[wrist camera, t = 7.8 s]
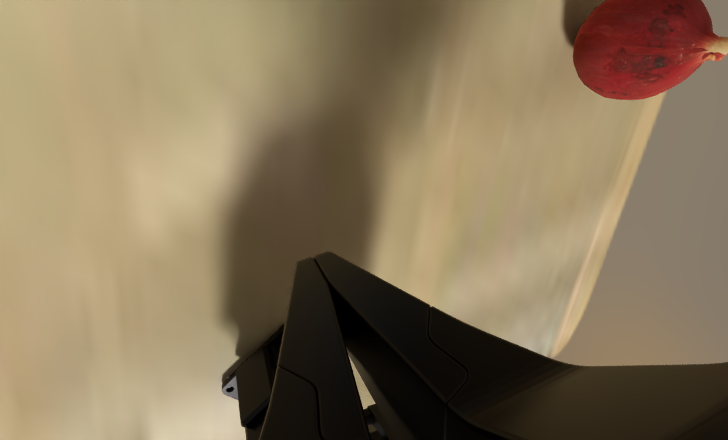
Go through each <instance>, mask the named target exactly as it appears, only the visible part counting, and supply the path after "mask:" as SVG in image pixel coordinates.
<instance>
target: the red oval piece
mask: <svg viewBox="0 0 728 440" xmlns="http://www.w3.org/2000/svg"><path fill="white" fill-rule="evenodd" d="M712 30H713V29H712V22H711V18H710V16H709V13H708V11H707V9H706V7H705V5H704V4H703V2H702V1H701V0H606V1H604V2H603V3H602V4H600V5H599V6H598V7H596V8H595V9H594V10H593V12H592V13H591V14H590V15H589V16H588V18H587V19H586V20H585V22H584V23H583V25H582V26H581V27H580V29H579V31H578V34H577V37H576V40H575V42H574V51H573V62H574V66H575V68H576V71H577V74H578V77H579V78H580V79H581V81H582V82H583V83H584V85H586V86H587V87H588V88H590V89H591V90H593V91H594V92H596V93H597V94H599V95H601V96H603V97H605V98H612V99H620V100H637V99H645V98H648V97H652V96H655V95H657V94H659V93H662V92H664V91H666V90H668V89H670V88H672V87H674V86H676V85H678V84H679V83H681V82H682V81H684V80H685V79H686V78H688V77H689V76H690V75H691V74H692V73H693V72H694V71H695V70H696V69H697V68H699V67H700V66H701V64H702V63H703V62H704V61H708V60H713V61H721V60H722V58H723V57H724V56H726V55H727V54H728V38H727V37H718V36H717V35H715V34H714V33H713V31H712Z"/></svg>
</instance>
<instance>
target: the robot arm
mask: <svg viewBox="0 0 728 440" xmlns="http://www.w3.org/2000/svg"><path fill="white" fill-rule="evenodd" d="M348 354H349V356H350V358H351V360H352V362H353V363H354V365H355V367H356V369H357V371H358V372H359V374H360V376H361V378H362V380H363V381H364V383H365V385H366V387H367V389H368V390H369V392H370V394H371V396H372V398H373V399H374V401H375V403H376V404H373V405H370V406H368V408H366V409H363V407H362V403H361V399H360V396H359V392H358V389H357V385H356V381H355V378H354V374H353V370H352V367H351V363H350V359H349V356H348ZM228 387H230V388H228ZM222 392H223V394H225V395H227V396H229V397H232V398H234V399H237V400H238V401H239V410H240V419H241V426H242V427H245V432H246V440H728V362H726V363H715V364H693V365H692V364H690V365H639V366H638V365H637V366H579V365H573V364H568V363H563V362H560V361H557V360H554V359H551V358H548V357H545V356H543V355H541V354H538V353H536V352H533V351H531V350H528V349H526V348H523V347H521V346H519V345H516V344H514V343H511V342H509V341H506V340H504V339H501V338H499V337H497V336H494V335H492V334H489V333H487V332H485V331H482V330H480V329H478V328H475V327H473V326H471V325H469V324H466V323H464V322H462V321H460V320H458V319H456V318H454V317H452V316H450V315H448V314H446V313H444V312H442V311H441V310H439V309H437V308H435V307H433V306H432V307H430V305H429V304H427V303H425V302H423V301H422V300H420V299H418V298H416V297H414V296H412V295H410V294H408V293H407V292H405V291H403V290H401V289H399V288H397V287H395V286H394V285H392V284H390V283H388V282H386V281H384V280H382V279H380V278H379V277H377V276H375V275H373V274H371V273H369V272H367V271H365V270H364V269H362V268H360V267H358V266H356V265H354V264H352V263H351V262H349V261H347V260H345V259H343V258H341V257H339V256H337V255H336V254H334V253H332V252H325V253H322V254H319V255H316V256H315V257H314V259H313V258H311V257H310V258H307V259H304V260H300V261H298V262H297V263H296V266H295V272H294V277H293V283H292V288H291V294H290V299H289V304H288V310H287V315H286V321H285V324H284V325H283V326H282V327H281V328H280V329H279V330H278V331H277V332H276V333H275V334H274V335H273V336H271V337H270V338H269V339H268V340H267V341H266V342H265V343H264V344H263V345H262V346H261V347H260V348H259V349H258V350H257V351H256V352H254V353H253V354H252V355H251V356H250V357H249V358H248V359H247V360H246V361H245V362H244V363H243V364H242V365H241V366H240V367H239V368H238V369H237V370H236V371H235V372H234V373H233V374H232V375H231V376H230V377H229V378H228V379H227V380H226V381H225V382H224V383H223V384H222Z"/></svg>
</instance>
